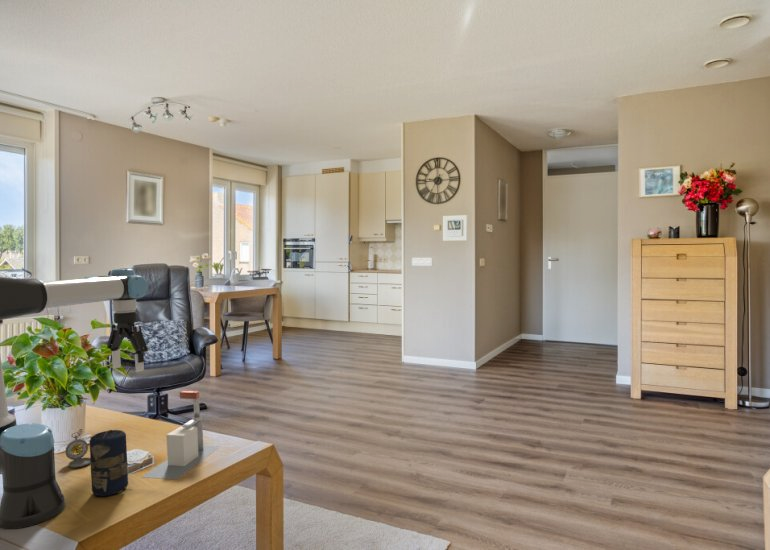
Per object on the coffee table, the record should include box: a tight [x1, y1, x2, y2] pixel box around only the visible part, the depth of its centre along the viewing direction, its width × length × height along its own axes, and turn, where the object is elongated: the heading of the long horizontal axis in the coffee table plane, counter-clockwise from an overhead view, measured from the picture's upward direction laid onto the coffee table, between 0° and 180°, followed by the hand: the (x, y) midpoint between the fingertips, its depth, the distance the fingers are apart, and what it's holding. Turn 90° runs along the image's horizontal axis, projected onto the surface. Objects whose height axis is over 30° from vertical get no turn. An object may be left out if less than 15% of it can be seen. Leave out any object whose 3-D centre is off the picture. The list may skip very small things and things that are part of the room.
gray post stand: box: [141, 419, 221, 480], centre depth 167 cm, size 26×12×11 cm, turn 169°
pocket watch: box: [65, 431, 90, 469], centre depth 170 cm, size 8×8×10 cm
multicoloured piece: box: [179, 390, 203, 428], centre depth 173 cm, size 9×7×10 cm
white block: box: [165, 425, 198, 466], centre depth 167 cm, size 8×6×10 cm
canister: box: [89, 429, 129, 497], centre depth 149 cm, size 10×10×18 cm
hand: (128, 369), depth 184 cm, fingers open, 13 cm apart
